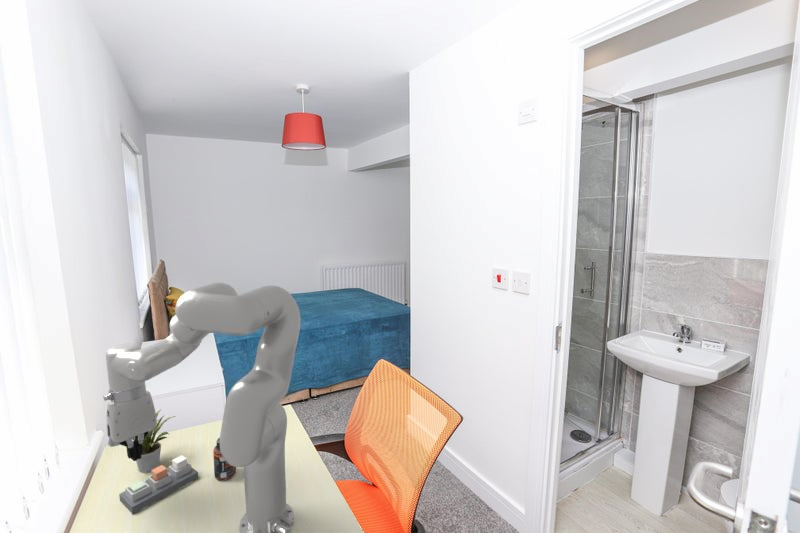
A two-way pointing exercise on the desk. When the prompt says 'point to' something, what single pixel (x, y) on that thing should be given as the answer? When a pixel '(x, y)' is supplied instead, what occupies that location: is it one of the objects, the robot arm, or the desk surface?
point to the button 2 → (159, 473)
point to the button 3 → (179, 462)
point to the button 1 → (137, 486)
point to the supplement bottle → (222, 465)
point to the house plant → (151, 449)
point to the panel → (157, 488)
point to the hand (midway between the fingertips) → (135, 457)
